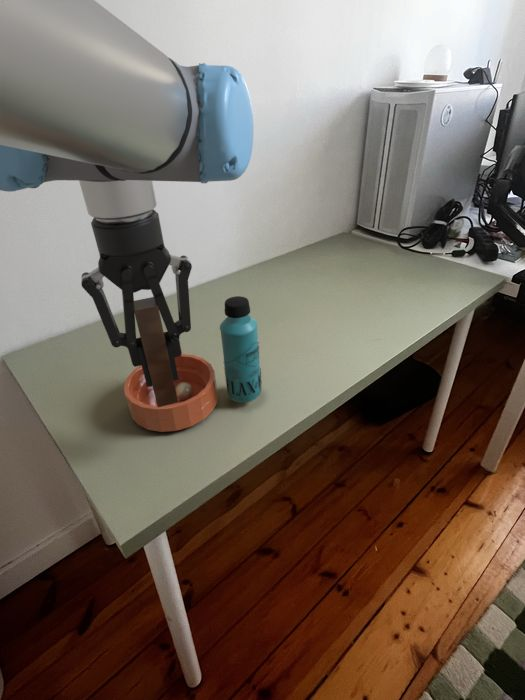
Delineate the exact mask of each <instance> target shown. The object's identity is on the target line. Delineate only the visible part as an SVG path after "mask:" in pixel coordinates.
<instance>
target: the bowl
mask: <svg viewBox="0 0 525 700" xmlns="http://www.w3.org/2000/svg"><path fill="white" fill-rule="evenodd" d="M175 363H176V368H177V373H178V378H179V380H175V381H174V384H175V389H176V386H177V385H178V384H179V383H182V382H187V383H189V384H190V385H191V386H192V388H193V394H192V396H191V397H190V398H189V399H187V400H181V399H179V398H178V397H177V398H178V402H177V403H173V404H170V405H166V406H162V407H158V406H157V402H156V398H155V394H154V390H153V386H150V387H147V384H146V381H145V377H144V373H143V369H142V365H141V366H136V368H135V369H133V370H132V371H131V373H130V374H129V375H128V376H127V377H126V378H125V382H124V385H123V392H124V396H125V400H126V404H127V407H128V409H129V413H130V417H131V419H133V421H134V422H135V423H136V424H137V425H138V426H140V427H142V428H144V429H146V430H147V431H152V432H153V431H155V432H160V433H164V432H165V433H166V432H177V431H181V430H184V429H187V428H190V427H193V426H195V425H197V424H198V423H200V422H203V421H204V420H205V419H206V418H207V417H208V416H209V415H210V414H211V413H212V412H213V411H214V409H215V407H216V405H217V403H218V398H219V397H218V395H219V392H218V386H217V379H216V378H217V377H216V372H215V369H214V367H213V365H212V364H211V363H210V362H209V361H208V360H206V359H205V358H203V357H200V356H197V355H194V354H189V353H188V354H187V353H182V354H181V356H179V357H175Z"/></svg>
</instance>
